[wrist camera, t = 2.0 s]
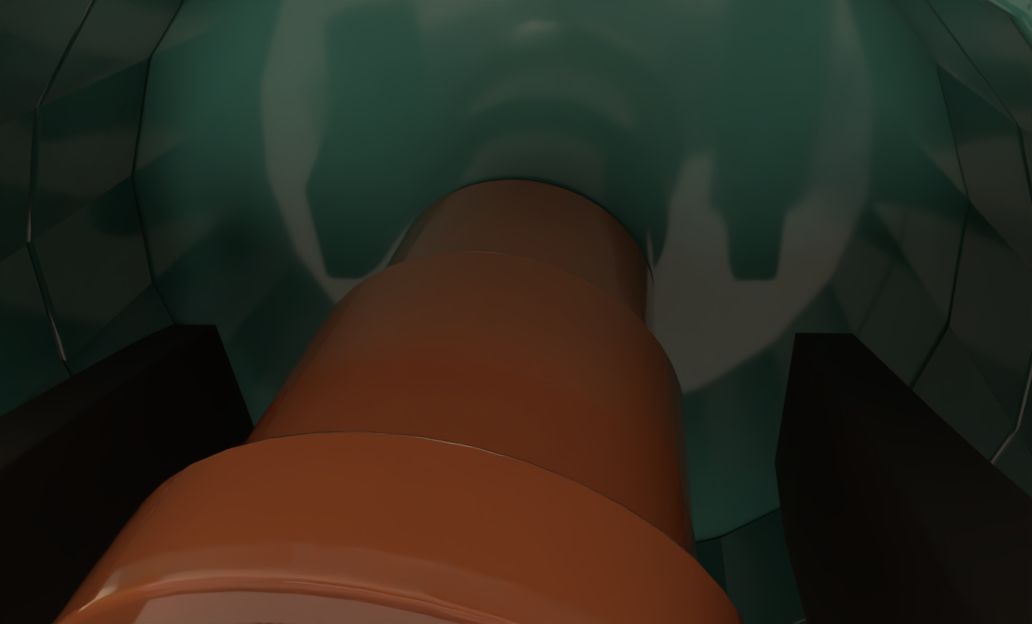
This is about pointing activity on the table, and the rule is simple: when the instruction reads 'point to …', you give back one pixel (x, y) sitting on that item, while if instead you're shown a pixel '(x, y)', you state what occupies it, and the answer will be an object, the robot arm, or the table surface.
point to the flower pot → (446, 450)
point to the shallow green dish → (548, 159)
